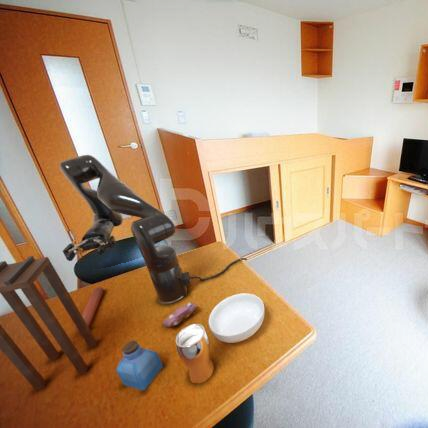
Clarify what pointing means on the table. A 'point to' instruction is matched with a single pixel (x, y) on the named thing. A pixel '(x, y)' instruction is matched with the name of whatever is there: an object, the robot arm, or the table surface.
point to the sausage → (91, 306)
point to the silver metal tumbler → (195, 352)
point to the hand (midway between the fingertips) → (84, 255)
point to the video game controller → (179, 314)
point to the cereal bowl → (237, 317)
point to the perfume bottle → (138, 366)
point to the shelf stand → (23, 279)
